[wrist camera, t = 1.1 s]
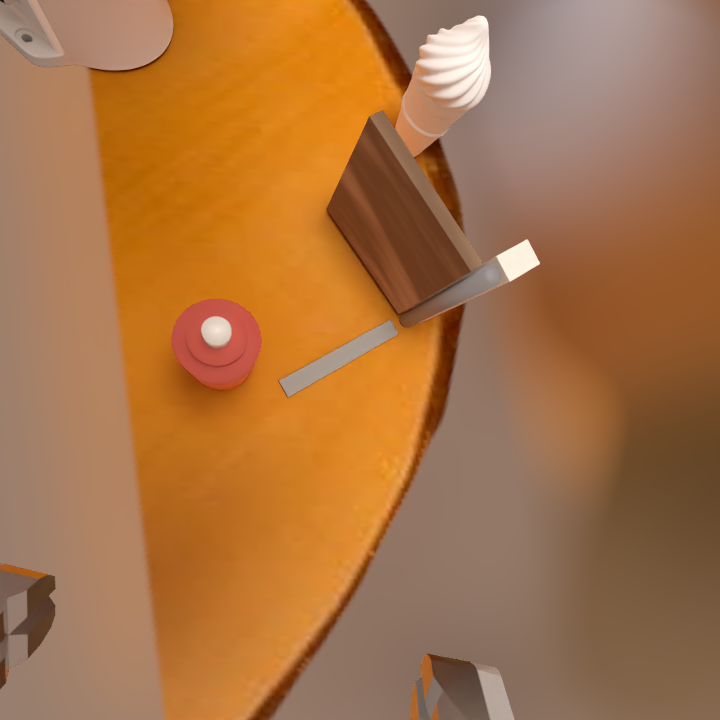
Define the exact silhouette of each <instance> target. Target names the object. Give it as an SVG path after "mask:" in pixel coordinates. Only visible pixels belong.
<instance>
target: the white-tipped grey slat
mask: <svg viewBox="0 0 720 720" xmlns="http://www.w3.org/2000/svg"><path fill="white" fill-rule="evenodd" d="M539 264H540V263H539V261H538V259H537V257H536V255H535V253H534V251H533V249H532V247H531V245H530V243H529V242H528V240H525V241H524V242H522V243H520V244H518V245H516V246H514V247H512V248H511V249H509V250H507V251H505V252H503V253H501V254H500V255H498V256H496V257H494V258H493V259H491V260H489V261H487V262H486V263H484V264H482V265H481V266H479V267H477V268H475V269H474V270H473V271H471V272H470V273H468V274H466V275H464V276H463V277H461V278H459V279H458V280H456V281H454V282H452V283H451V284H449V285H447V286H446V287H444V288H442V289H441V290H439V291H437V292H435V293H434V294H432V295H430V296H429V297H427V298H425V299H423V300H422V301H420V302H418V303H417V304H415V305H413V306H412V307H410V310H409V311H407V312H405V313H403V314H402V315H401V316H400V323H401V325H402V326H404V327H410V326H412V325H414V324H416V323H418V324H420V323H422V322H424V321H427V320H429V319H431V318H433V317H435V316H437V315H439V314H442V313H444V312H446V311H448V310H450V309H452V308H454V307H456V306H459V305H461V304H463V303H465V302H467V301H469V300H471V299H474V298H476V297H478V296H480V295H482V294H484V293H486V292H488V291H491V290H493V289H495V288H497V287H499V286H501V285H503V284H505V283H507V282H510V281H511V280H513V279H515V278H517V277H518V276H520V275H522V274H523V273H525V272H526V271H528V270H530V269H532V268H534V267H535V266H537V265H539ZM396 335H398V332H397V330H396V328H395V327H394V325H393V323H392V321H391V320H389V321H387V322H385V323H383V324H382V325H380V326H378V327H376V328H374V329H372V330H371V331H369V332H367V333H365V334H363V335H362V336H360V337H358V338H356V339H354V340H352V341H351V342H349V343H347V344H345V345H343V346H342V347H340V348H338V349H336V350H334V351H332V352H331V353H329V354H327V355H325V356H323V357H322V358H320V359H318V360H316V361H314V362H312V363H311V364H309V365H307V366H305V367H303V368H302V369H300V370H298V371H296V372H294V373H292V374H291V375H289V376H287V377H285V378H283V379H282V380H280V381H279V383H280V384H281V386H282V388H283V390H284V391H285V393H286V395H287V397H290V396H291V395H293V394H295V393H297V392H298V391H300V390H302V389H304V388H305V387H307V386H309V385H310V384H312V383H314V382H316V381H317V380H319V379H321V378H323V377H324V376H326V375H328V374H330V373H331V372H333V371H335V370H337V369H338V368H340V367H342V366H344V365H345V364H347V363H349V362H351V361H352V360H354V359H356V358H358V357H359V356H361V355H363V354H365V353H366V352H368V351H370V350H372V349H373V348H375V347H377V346H379V345H380V344H382V343H384V342H385V341H387V340H389V339H391V338H392V337H394V336H396Z"/></svg>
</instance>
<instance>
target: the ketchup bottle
mask: <svg viewBox="0 0 720 720" xmlns="http://www.w3.org/2000/svg"><path fill="white" fill-rule="evenodd" d="M172 345H173V350H174V353H175V355H176V357H177V359H178V361H179V362H180V364H181V365H182V366H183V367H184V368H185V369H186V370H187V371H188V372H189V373H191V374H192V375H193V376H194V377H195V378H196V379H197V380H198V381H199V382H201V383H202V384H203V385H205V386H206V387H209V388H211V389H215V390H228V389H232V388H235V387H237V386H239V385H240V384H242V383H243V382H244V381H245V380H246V379H247V377H248V376H249V374H250V372H251V370H252V368H253V366H254V364H255V362H256V359H257V357H258V355H259V352H260V348H261V333H260V329H259V326H258V324H257V322H256V320H255V319H254V317H253V316H252V315H251V314H250V313H249V312H248V311H247V310H246V309H245V308H243V307H242V306H240V305H238V304H237V303H234V302H231V301H228V300H223V299H209V300H204V301H201V302H198V303H196V304H194V305H192V306H190V307H189V308H188V309H186V310H185V311H184V312H183V313H182V314H181V315H180V317H179V318H178V320H177V321H176V324H175V326H174V329H173V333H172Z"/></svg>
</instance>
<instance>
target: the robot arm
mask: <svg viewBox="0 0 720 720" xmlns="http://www.w3.org/2000/svg"><path fill="white" fill-rule="evenodd" d="M0 34H1V35H2V36H3V37H4V38H5V39H6V40H7V41H9V43H11V44H12V45H13V46H14V47H15V48H16V49H17V50H18V51H19V52H20V53H21V54H23V56H25V57H26V58H27V59H28V60H29V61H30V62H31V63H33V64H35V65H37V66H41V67H58V66H66V65H80V66H86V67H91V68H96V69H102V70H127V69H133V68H137V67H141V66H143V65H146V64H148V63H150V62H152V61H153V60H155V59H156V58H158V57H159V56H160V55H161V54H162V53H163V52H164V51H165V50H166V48H167V47H168V45H169V43H170V41H171V38H172V34H173V16H172V12H171V9H170V6H169V3H168V1H167V0H0ZM29 41H30V43H28V42H29ZM54 590H55V576H52V575H47V574H43V573H39V572H35V571H31V570H27V569H23V568H19V567H15V566H11V565H7V564H2V563H0V689H1V688H2V687H3V686H4V685H5V684H6V680H7V676H8V672H9V669H11V668H12V667H14V666H16V665H18V664H19V663H21V662H23V661H25V660H27V659H28V658H29V657H30V656H31V655H32V653H33V652H34V651H35V650H36V649H37V648H38V647H39V646H40V644H41V643H42V641H43V640H44V638H45V636H46V635H47V633H48V632H49V630H50V628H51V626H52V623H53V620H54V616H55V604H54V603H53V601H52V600H51V599H50V597H49V595H50V594H51V593H52V592H53V591H54ZM421 671H422V678H420V679H419V680H417V681H416V682H415V686H414V690H413V693H412V701H411V710H410V712H411V713H410V720H514V716H513V713H512V710H511V707H510V704H509V700H508V697H507V694H506V691H505V688H504V685H503V681H502V679H501V675H500V673H499V672H498V670H497V669H496V668H494V667H490V666H485V665H481V664H475V663H471V662H469V661H464V660H459V659H454V658H449V657H443V656H438V655H433V654H428V653H427V654H426V655H425V656H424V658H423V661H422V664H421Z"/></svg>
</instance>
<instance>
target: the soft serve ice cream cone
mask: <svg viewBox="0 0 720 720" xmlns="http://www.w3.org/2000/svg"><path fill="white" fill-rule="evenodd" d="M488 32H489V30H488V22H487V19H486V18H485V17H484V16H476V17H474V18H472V19H469V20H467V21H466V22H464V23H463V24H460V25H456V26H454V27H453V28H452V29H451V30H446V29H443V28H441V29H440V30H439V32H438V34H437V35H428V36H427V43H426V44H425V45H423V46H420V47H419V52H420V59H419V60H418V61H416V63H415V64H416V67H415V69H414V72H413V76H412V80H411V82H410V84H409V87H408V89H407V91H406V92H405V94H404V95H403V98H402V106H401V110H400V113H399V116H398V120H397V123H396V126H395V129H396V131H397V132H398V134H399V136H400V137H401V139H402V140H403V142H404V143H405V145H406V146H407V148H408V149H409V151H410V152H411V154H412V156H413V157H416V156H417V155H419V154H420V153H421V152H422V151H423V150H424V149H426V148H427V147H428V146H429V145H430V144H432V143H433V142H434V141H435V140H436V139H438V138H439V137H441V136H443V135H444V134H445V133H446V132H447V131H448V130H449V128H450V126H451V125H452V124H453V123H454V122H455V121H456V120H457V119H458V118H459V117H461V116H462V115H463V114H464V113H465V112H466V111H467V110H468V109H470V108H472V107H474V106H475V105H476V104H478V103H479V102H480V101H481V99H482V98H483V97H484V95H485V93H486V90H487V88H488V85H489V81H490V77H491V66H490V60H489V33H488Z"/></svg>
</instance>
